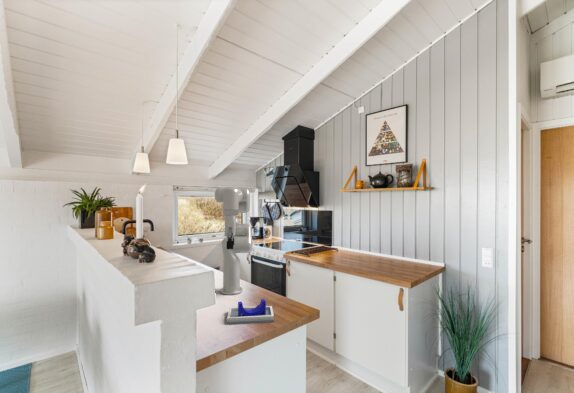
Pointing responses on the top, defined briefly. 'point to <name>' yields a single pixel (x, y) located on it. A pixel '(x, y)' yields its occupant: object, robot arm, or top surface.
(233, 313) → the shallow rectangular tray
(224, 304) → the top surface
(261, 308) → the blue long irregular block
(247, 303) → the top surface
